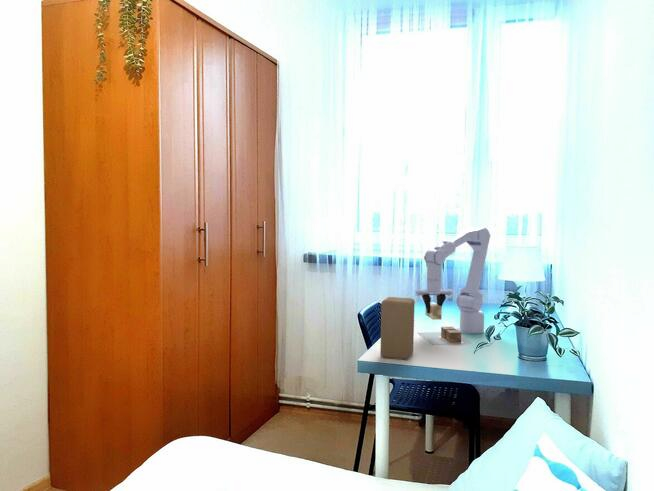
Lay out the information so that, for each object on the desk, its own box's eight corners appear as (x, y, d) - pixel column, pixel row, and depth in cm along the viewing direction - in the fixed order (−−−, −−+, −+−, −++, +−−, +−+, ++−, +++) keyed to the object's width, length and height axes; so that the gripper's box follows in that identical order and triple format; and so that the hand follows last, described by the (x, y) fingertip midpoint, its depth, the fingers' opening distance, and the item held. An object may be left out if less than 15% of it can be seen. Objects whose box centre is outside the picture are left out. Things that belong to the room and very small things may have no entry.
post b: (457, 339, 223) (457, 329, 222) (461, 342, 218) (461, 332, 218) (446, 340, 222) (446, 330, 222) (449, 342, 218) (450, 332, 217)
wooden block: (413, 353, 202) (415, 298, 201) (408, 360, 193) (409, 302, 191) (386, 351, 205) (387, 296, 204) (379, 358, 196) (380, 300, 194)
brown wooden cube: (451, 336, 228) (452, 326, 228) (455, 339, 224) (456, 329, 224) (441, 336, 228) (441, 326, 228) (444, 339, 223) (445, 329, 223)
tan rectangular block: (433, 314, 232) (434, 302, 232) (441, 319, 222) (441, 306, 222) (425, 314, 232) (425, 302, 231) (432, 319, 222) (433, 306, 222)
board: (454, 332, 237) (454, 332, 237) (472, 344, 217) (472, 343, 217) (416, 333, 235) (416, 332, 235) (431, 345, 215) (431, 344, 215)
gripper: (419, 280, 221) (418, 315, 222) (455, 280, 223) (454, 314, 224) (414, 278, 228) (413, 311, 229) (449, 278, 230) (448, 311, 231)
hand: (433, 313), depth 227 cm, fingers closed on tan rectangular block, 3 cm apart
